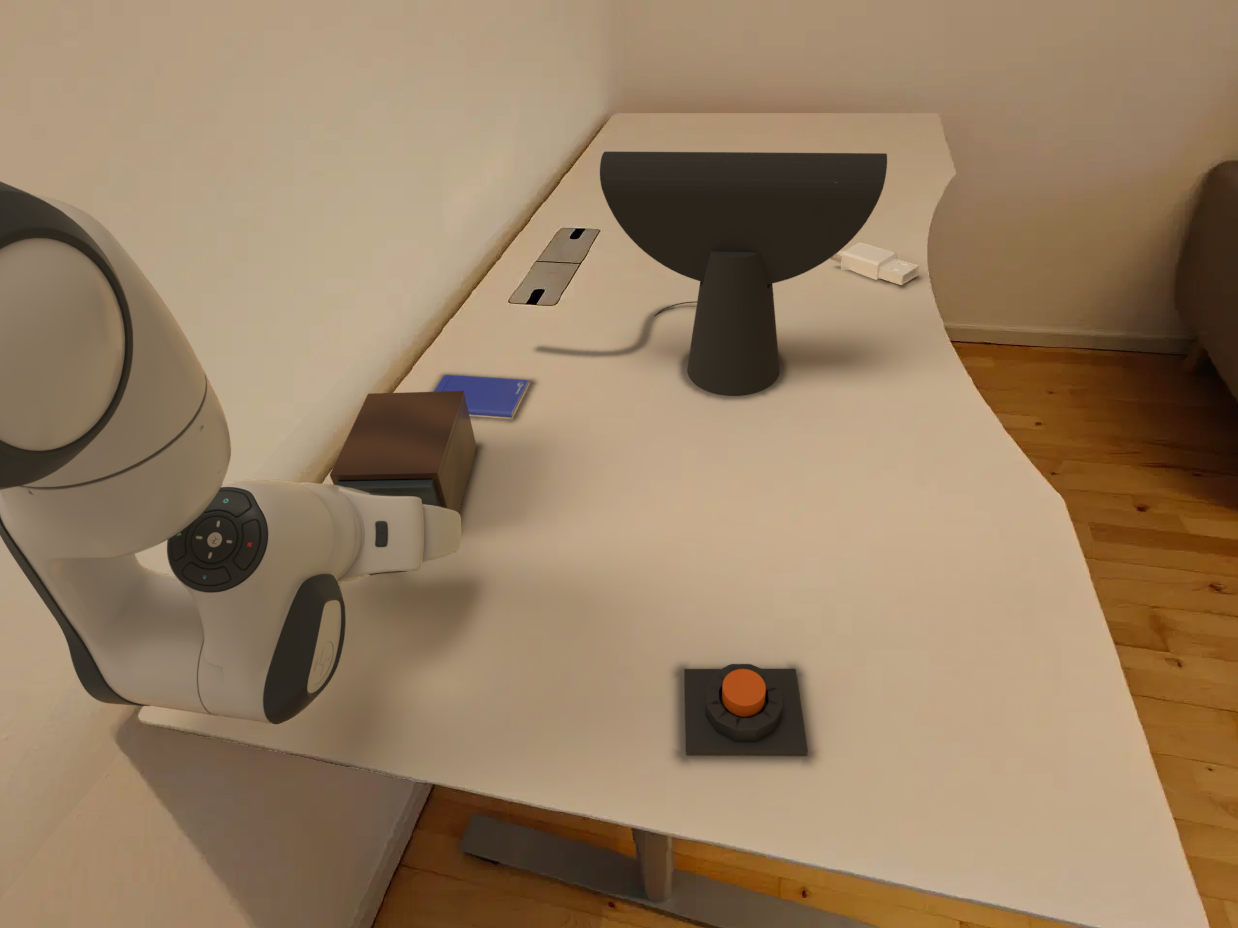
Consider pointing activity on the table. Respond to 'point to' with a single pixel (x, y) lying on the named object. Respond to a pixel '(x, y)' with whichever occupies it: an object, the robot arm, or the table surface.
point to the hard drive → (487, 394)
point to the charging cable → (877, 263)
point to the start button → (743, 693)
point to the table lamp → (740, 239)
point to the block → (734, 735)
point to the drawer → (398, 488)
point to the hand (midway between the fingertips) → (380, 531)
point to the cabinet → (411, 442)
